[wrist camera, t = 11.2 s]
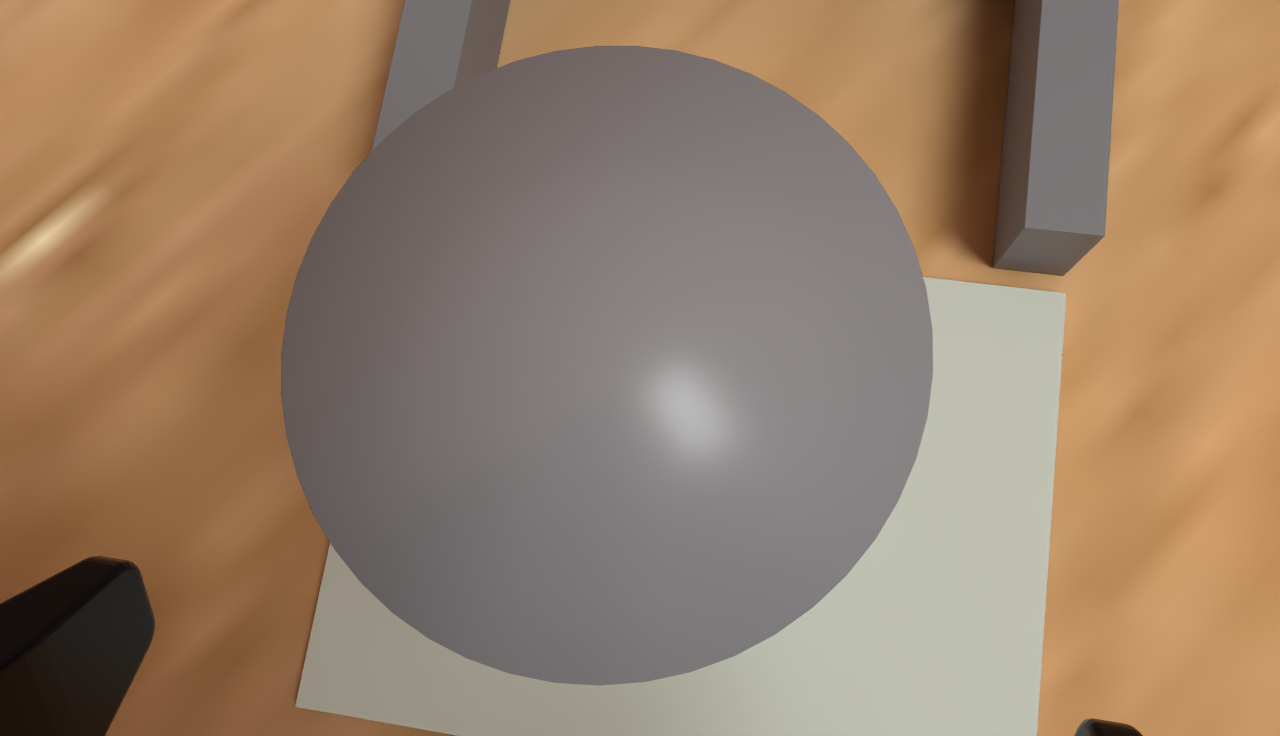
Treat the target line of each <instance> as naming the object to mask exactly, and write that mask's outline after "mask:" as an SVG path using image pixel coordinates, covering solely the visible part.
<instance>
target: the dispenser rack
mask: <svg viewBox="0 0 1280 736" xmlns="http://www.w3.org/2000/svg"><path fill="white" fill-rule="evenodd" d="M509 3H510V0H405V3H404V8H403V12H402V17H401V21H400V26H399V30H398V35H397V39H396V44H395V48H394V53H393V57H392V62H391V66H390V71H389V75H388V80H387V84H386V89H385V93H384V98H383V102H382V107H381V111H380V116H379V120H378V125H377V129H376V134H375V138H374V143H373V147H372V151H373V150H374V149H375V148H376V147H377V146H378V144H379V143H380V142H381V141H382V140H383V139H385V138H386V137H387V136H388V135H389V134H390V133H392V132H393V131H394V130H395V129H396V128H397V127H399V126H400V125H401V124H402V123H403V122H404V121H406V120H407V119H408V118H409V117H410V116H411V115H413V114H414V113H416V112H417V111H419V110H420V109H422V108H423V107H425V106H426V105H428V104H429V103H431V102H432V101H434V100H435V99H437V98H438V97H439V96H441V95H442V94H444V93H446V92H447V91H449V90H451V89H453V88H455V87H457V86H459V85H461V84H463V83H465V82H467V81H469V80H471V79H473V78H475V77H477V76H479V75H480V74H483V73H486V72H488V71H491V70H494V69H496V68H497V64H498V59H499V54H500V48H501V43H502V38H503V33H504V28H505V23H506V18H507V13H508V8H509ZM1118 3H1119V0H1015V10H1014V22H1013V34H1012V46H1011V58H1010V70H1009V82H1008V94H1007V106H1006V118H1005V130H1004V142H1003V155H1002V167H1001V179H1000V191H999V203H998V215H997V227H996V239H995V251H994V263H993V268H1000V269H1009V270H1018V271H1027V272H1036V273H1045V274H1054V275H1063V276H1064V275H1065V274H1066V273H1067V272H1068V271H1069V270H1070V269H1071V268H1072V267H1073V266H1074V265H1075V264H1076V263H1077V262H1078V261H1079V260H1080V259H1081V258H1082V257H1083V256H1085V255H1086V254H1087V253H1088V252H1089V251H1090V250H1091V249H1092V248H1093V247H1094V246H1095V245H1096V244H1097V243H1098V242H1099V241H1100V240H1101V239H1102V238H1103V237H1104V236H1105V222H1106V205H1107V188H1108V171H1109V155H1110V138H1111V121H1112V104H1113V87H1114V70H1115V53H1116V37H1117V20H1118Z"/></svg>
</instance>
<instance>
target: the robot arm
mask: <svg viewBox="0 0 1280 736" xmlns="http://www.w3.org/2000/svg"><path fill="white" fill-rule="evenodd" d="M154 628H155V619H154V615H153V611H152V608H151V605H150V602H149V599H148V596H147V592H146V589H145V586H144V583H143V580H142V576H141V573H140V571H139V569H138V567H137V566H136V565H135V564H134V563H133V562H130V561H127V560H121V559H115V558H109V557H102V556H95V557H90V558H87V559H85V560H82V561H80V562H79V563H77V564H75V565H73V566H71V567H69V568H67V569H65V570H63V571H61V572H60V573H58V574H56V575H54V576H52V577H50V578H48V579H46V580H44V581H42V582H41V583H39V584H37V585H35V586H33V587H31V588H29V589H27V590H25V591H24V592H22V593H20V594H18V595H16V596H14V597H12V598H10V599H8V600H6V601H5V602H3V603H1V604H0V736H105V735H106V733H107V731H108V729H109V727H110V725H111V723H112V721H113V719H114V717H115V715H116V713H117V711H118V709H119V707H120V705H121V703H122V701H123V699H124V697H125V695H126V693H127V690H128V688H129V686H130V684H131V682H132V680H133V678H134V676H135V674H136V672H137V670H138V668H139V666H140V664H141V662H142V660H143V658H144V656H145V654H146V652H147V650H148V648H149V646H150V644H151V641H152V638H153V635H154ZM1075 736H1143V735H1142V734H1141V733H1140V732H1139V731H1138V730H1136V729H1135V728H1134V727H1132V726H1130V725H1127V724H1123V723H1117V722H1111V721H1105V720H1099V719H1093V718H1092V719H1086V720H1084V721H1083V722H1082V723H1081V724H1080V726H1079V727H1078V729H1077V731H1076V734H1075Z"/></svg>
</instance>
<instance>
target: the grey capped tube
mask: <svg viewBox="0 0 1280 736" xmlns="http://www.w3.org/2000/svg"><path fill="white" fill-rule="evenodd" d="M932 378H933V330H932V323H931V317H930V310H929V303H928V297H927V290H926V286H925V282H924V279H923V276H922V272H921V269H920V265H919V262H918V259H917V255H916V252H915V249H914V246H913V244H912V242H911V239H910V237H909V235H908V233H907V231H906V228H905V226H904V224H903V222H902V219H901V217H900V215H899V213H898V211H897V209H896V207H895V206H894V204H893V202H892V201H891V199H890V198H889V196H888V194H887V193H886V191H885V190H884V188H883V186H882V185H881V183H880V182H879V180H878V178H877V177H876V175H875V174H874V173H873V172H872V170H871V169H870V168H869V167H868V166H867V164H866V163H865V162H864V161H863V160H862V158H861V157H860V156H859V155H858V154H857V152H856V151H855V150H854V149H853V147H852V146H851V145H850V144H849V143H848V142H847V141H846V140H845V139H844V138H843V137H842V136H841V135H839V134H838V133H837V132H836V131H835V130H834V129H833V128H832V127H831V126H830V125H829V124H828V123H826V122H825V121H824V120H823V119H822V118H821V117H820V116H819V115H817V114H816V113H814V112H813V111H812V110H810V109H809V108H807V107H806V106H805V105H803V104H802V103H800V102H799V101H797V100H796V99H795V98H793V97H792V96H790V95H789V94H788V93H786V92H784V91H782V90H780V89H778V88H777V87H775V86H773V85H771V84H769V83H767V82H765V81H763V80H761V79H760V78H758V77H756V76H754V75H752V74H750V73H747V72H744V71H742V70H739V69H737V68H734V67H731V66H729V65H726V64H723V63H721V62H718V61H715V60H712V59H708V58H704V57H700V56H696V55H691V54H687V53H683V52H679V51H675V50H666V49H658V48H649V47H640V46H593V47H585V48H577V49H569V50H561V51H554V52H550V53H546V54H542V55H538V56H534V57H530V58H526V59H522V60H518V61H515V62H513V63H510V64H507V65H505V66H502V67H499V68H496V69H494V70H491V71H488V72H486V73H483V74H480V75H479V76H477V77H475V78H473V79H471V80H469V81H467V82H465V83H463V84H461V85H459V86H457V87H455V88H453V89H451V90H449V91H447V92H446V93H444V94H442V95H441V96H439V97H438V98H437V99H435V100H434V101H432V102H431V103H429V104H428V105H426V106H425V107H423V108H422V109H420V110H419V111H417V112H416V113H414V114H413V115H411V116H410V117H409V118H408V119H407V120H406V121H404V122H403V123H402V124H401V125H400V126H399V127H397V128H396V129H395V130H394V131H393V132H392V133H390V134H389V135H388V136H387V137H386V138H385V139H383V140H382V141H381V142H380V143H379V144H378V146H377V147H376V148H375V149H374V150H373V151H372V152H371V153H370V154H369V155H368V156H367V158H366V159H365V160H364V161H363V162H362V163H361V164H360V165H359V166H358V167H357V168H356V169H355V171H354V172H353V173H352V175H351V176H350V178H349V179H348V180H347V182H346V183H345V185H344V186H343V187H342V189H341V190H340V191H339V193H338V194H337V196H336V197H335V198H334V200H333V201H332V203H331V204H330V206H329V208H328V210H327V212H326V213H325V215H324V217H323V219H322V221H321V222H320V224H319V226H318V228H317V230H316V231H315V233H314V235H313V237H312V239H311V242H310V244H309V247H308V249H307V252H306V254H305V256H304V259H303V261H302V264H301V266H300V269H299V271H298V274H297V277H296V281H295V285H294V288H293V292H292V296H291V300H290V304H289V307H288V311H287V316H286V323H285V331H284V339H283V346H282V354H281V396H282V404H283V412H284V419H285V427H286V435H287V439H288V443H289V447H290V450H291V454H292V458H293V461H294V465H295V469H296V473H297V476H298V478H299V481H300V483H301V486H302V488H303V490H304V493H305V495H306V497H307V500H308V502H309V505H310V507H311V509H312V512H313V514H314V516H315V518H316V519H317V521H318V523H319V524H320V526H321V528H322V529H323V531H324V533H325V534H326V536H327V538H328V539H329V541H330V543H331V545H332V546H333V548H334V550H335V551H336V552H337V554H338V555H339V556H340V557H341V559H342V560H343V561H344V562H345V564H346V565H347V566H348V567H349V569H350V570H351V571H352V572H353V574H354V575H355V576H356V577H357V579H358V580H359V581H360V582H361V584H362V585H363V586H365V587H366V588H367V589H368V590H369V591H370V592H371V593H372V594H373V595H374V596H375V597H376V598H377V599H378V600H379V601H380V602H381V603H382V604H383V605H385V606H386V607H387V608H388V609H389V610H390V611H391V612H392V613H393V614H394V615H396V616H397V617H399V618H400V619H402V620H403V621H404V622H406V623H407V624H409V625H410V626H411V627H413V628H414V629H416V630H417V631H418V632H420V633H421V634H423V635H424V636H425V637H427V638H428V639H430V640H432V641H434V642H436V643H438V644H440V645H442V646H444V647H445V648H447V649H449V650H451V651H453V652H455V653H457V654H459V655H461V656H463V657H465V658H467V659H469V660H472V661H475V662H478V663H480V664H483V665H486V666H489V667H492V668H495V669H497V670H500V671H503V672H506V673H509V674H513V675H518V676H523V677H528V678H533V679H538V680H543V681H548V682H553V683H566V684H582V685H598V686H601V685H614V684H627V683H640V682H648V681H653V680H657V679H662V678H667V677H671V676H676V675H680V674H685V673H690V672H693V671H695V670H698V669H701V668H704V667H706V666H709V665H712V664H715V663H717V662H720V661H723V660H726V659H728V658H731V657H734V656H736V655H738V654H740V653H742V652H743V651H745V650H747V649H749V648H751V647H753V646H755V645H757V644H759V643H760V642H762V641H764V640H766V639H768V638H770V637H772V636H774V635H776V634H777V633H778V632H780V631H781V630H782V629H784V628H785V627H787V626H788V625H789V624H791V623H792V622H794V621H795V620H796V619H798V618H799V617H801V616H802V615H803V614H805V613H806V612H808V611H809V610H810V609H812V608H813V607H814V606H815V605H816V604H817V603H818V602H819V601H820V600H822V599H823V598H824V597H825V596H826V595H827V594H828V593H829V592H830V591H831V590H832V589H833V588H834V587H835V586H836V585H837V584H838V583H839V582H840V581H842V580H843V579H844V578H845V577H846V576H847V575H848V573H849V572H850V571H851V570H852V568H853V567H854V566H855V565H856V563H857V562H858V561H859V560H860V558H861V557H862V556H863V555H864V553H865V552H866V551H867V550H868V548H869V547H870V546H871V545H872V543H873V542H874V541H875V539H876V538H877V536H878V534H879V533H880V531H881V529H882V528H883V526H884V524H885V523H886V521H887V519H888V518H889V516H890V514H891V513H892V511H893V509H894V508H895V506H896V504H897V503H898V501H899V499H900V496H901V494H902V492H903V489H904V487H905V484H906V482H907V480H908V477H909V475H910V473H911V470H912V468H913V466H914V463H915V461H916V458H917V454H918V451H919V447H920V443H921V439H922V436H923V432H924V428H925V425H926V421H927V417H928V410H929V402H930V394H931V386H932Z"/></svg>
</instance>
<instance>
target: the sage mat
mask: <svg viewBox="0 0 1280 736" xmlns="http://www.w3.org/2000/svg"><path fill="white" fill-rule="evenodd" d="M923 279H924V282H925V286H926V290H927V297H928V303H929V310H930V317H931V323H932V330H933V378H932V386H931V394H930V402H929V410H928V417H927V421H926V425H925V428H924V432H923V436H922V439H921V443H920V447H919V451H918V454H917V458H916V461H915V463H914V466H913V468H912V470H911V473H910V475H909V477H908V480H907V482H906V484H905V487H904V489H903V492H902V494H901V496H900V499H899V501H898V503H897V504H896V506H895V508H894V509H893V511H892V513H891V514H890V516H889V518H888V519H887V521H886V523H885V524H884V526H883V528H882V529H881V531H880V533H879V534H878V536H877V538H876V539H875V541H874V542H873V543H872V545H871V546H870V547H869V548H868V550H867V551H866V552H865V553H864V555H863V556H862V557H861V558H860V560H859V561H858V562H857V563H856V565H855V566H854V567H853V568H852V570H851V571H850V572H849V573H848V575H847V576H846V577H845V578H844V579H843V580H842V581H840V582H839V583H838V584H837V585H836V586H835V587H834V588H833V589H832V590H831V591H830V592H829V593H828V594H827V595H826V596H825V597H824V598H823V599H822V600H820V601H819V602H818V603H817V604H816V605H815V606H814V607H813V608H812V609H810V610H809V611H808V612H806V613H805V614H803V615H802V616H801V617H799V618H798V619H796V620H795V621H794V622H792V623H791V624H789V625H788V626H787V627H785V628H784V629H782V630H781V631H780V632H778V633H777V634H776V635H774V636H772V637H770V638H768V639H766V640H764V641H762V642H760V643H759V644H757V645H755V646H753V647H751V648H749V649H747V650H745V651H743V652H742V653H740V654H738V655H736V656H734V657H731V658H728V659H726V660H723V661H720V662H717V663H715V664H712V665H709V666H706V667H704V668H701V669H698V670H695V671H693V672H690V673H685V674H680V675H676V676H671V677H667V678H662V679H657V680H653V681H648V682H640V683H627V684H614V685H601V686H598V685H582V684H566V683H553V682H548V681H543V680H538V679H533V678H528V677H523V676H518V675H513V674H509V673H506V672H503V671H500V670H497V669H495V668H492V667H489V666H486V665H483V664H480V663H478V662H475V661H472V660H469V659H467V658H465V657H463V656H461V655H459V654H457V653H455V652H453V651H451V650H449V649H447V648H445V647H444V646H442V645H440V644H438V643H436V642H434V641H432V640H430V639H428V638H427V637H425V636H424V635H423V634H421V633H420V632H418V631H417V630H416V629H414V628H413V627H411V626H410V625H409V624H407V623H406V622H404V621H403V620H402V619H400V618H399V617H397V616H396V615H394V614H393V613H392V612H391V611H390V610H389V609H388V608H387V607H386V606H385V605H383V604H382V603H381V602H380V601H379V600H378V599H377V598H376V597H375V596H374V595H373V594H372V593H371V592H370V591H369V590H368V589H367V588H366V587H365V586H363V585H362V584H361V582H360V581H359V580H358V579H357V577H356V576H355V575H354V574H353V572H352V571H351V570H350V569H349V567H348V566H347V565H346V564H345V562H344V561H343V560H342V559H341V557H340V556H339V555H338V554H337V552H336V551H335V550H334V548H333V546H332V545H331V543H330V545H329V550H328V555H327V559H326V564H325V569H324V573H323V578H322V583H321V587H320V592H319V597H318V602H317V606H316V611H315V616H314V620H313V625H312V630H311V635H310V639H309V644H308V649H307V653H306V658H305V663H304V668H303V672H302V677H301V682H300V686H299V691H298V696H297V700H296V705H295V707H300V708H305V709H311V710H317V711H322V712H328V713H333V714H339V715H344V716H350V717H356V718H361V719H367V720H372V721H378V722H383V723H389V724H395V725H400V726H406V727H411V728H417V729H423V730H428V731H434V732H439V733H445V734H450V735H456V736H1037V724H1038V709H1039V694H1040V679H1041V664H1042V649H1043V634H1044V619H1045V604H1046V589H1047V574H1048V559H1049V544H1050V530H1051V515H1052V500H1053V485H1054V470H1055V455H1056V440H1057V425H1058V410H1059V395H1060V380H1061V365H1062V350H1063V335H1064V320H1065V305H1066V293H1059V292H1051V291H1042V290H1033V289H1024V288H1015V287H1006V286H998V285H989V284H980V283H971V282H962V281H953V280H945V279H936V278H927V277H923Z"/></svg>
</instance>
